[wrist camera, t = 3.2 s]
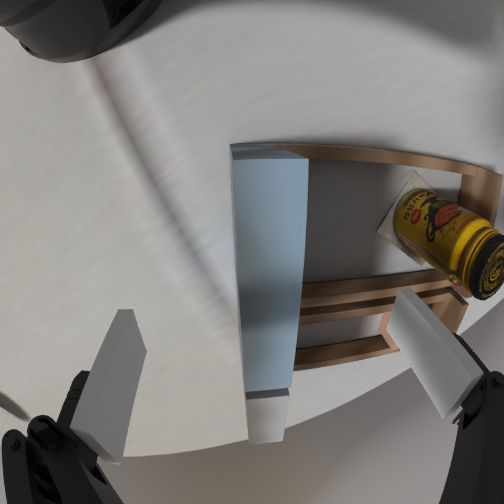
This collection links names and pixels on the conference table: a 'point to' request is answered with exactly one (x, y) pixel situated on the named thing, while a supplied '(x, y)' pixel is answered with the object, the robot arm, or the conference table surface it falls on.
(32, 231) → the conference table surface
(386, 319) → the clay block
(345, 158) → the wooden shelf
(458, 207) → the condiment
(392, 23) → the conference table surface
